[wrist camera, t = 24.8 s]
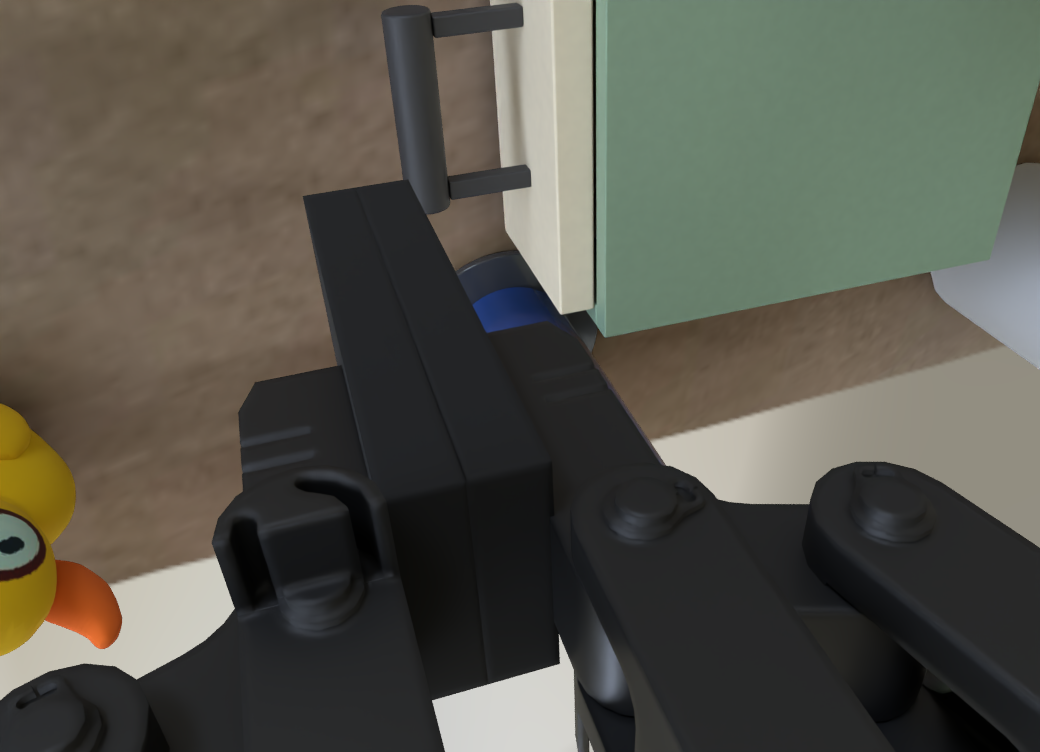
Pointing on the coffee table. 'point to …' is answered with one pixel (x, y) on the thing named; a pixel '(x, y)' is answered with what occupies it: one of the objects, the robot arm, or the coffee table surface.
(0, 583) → the duckling
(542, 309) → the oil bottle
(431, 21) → the drawer
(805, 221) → the cabinet
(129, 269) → the coffee table surface
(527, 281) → the coaster
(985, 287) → the can
